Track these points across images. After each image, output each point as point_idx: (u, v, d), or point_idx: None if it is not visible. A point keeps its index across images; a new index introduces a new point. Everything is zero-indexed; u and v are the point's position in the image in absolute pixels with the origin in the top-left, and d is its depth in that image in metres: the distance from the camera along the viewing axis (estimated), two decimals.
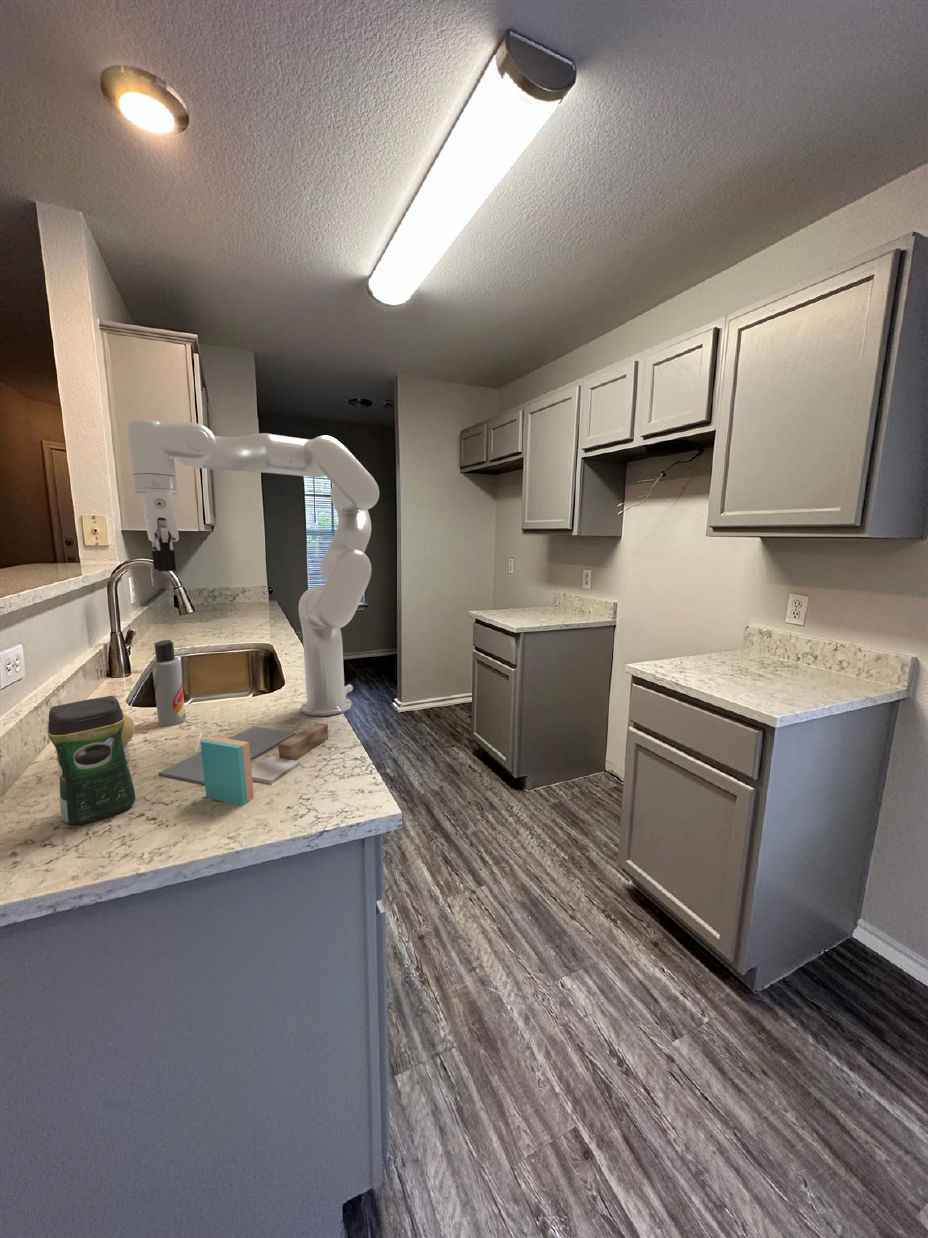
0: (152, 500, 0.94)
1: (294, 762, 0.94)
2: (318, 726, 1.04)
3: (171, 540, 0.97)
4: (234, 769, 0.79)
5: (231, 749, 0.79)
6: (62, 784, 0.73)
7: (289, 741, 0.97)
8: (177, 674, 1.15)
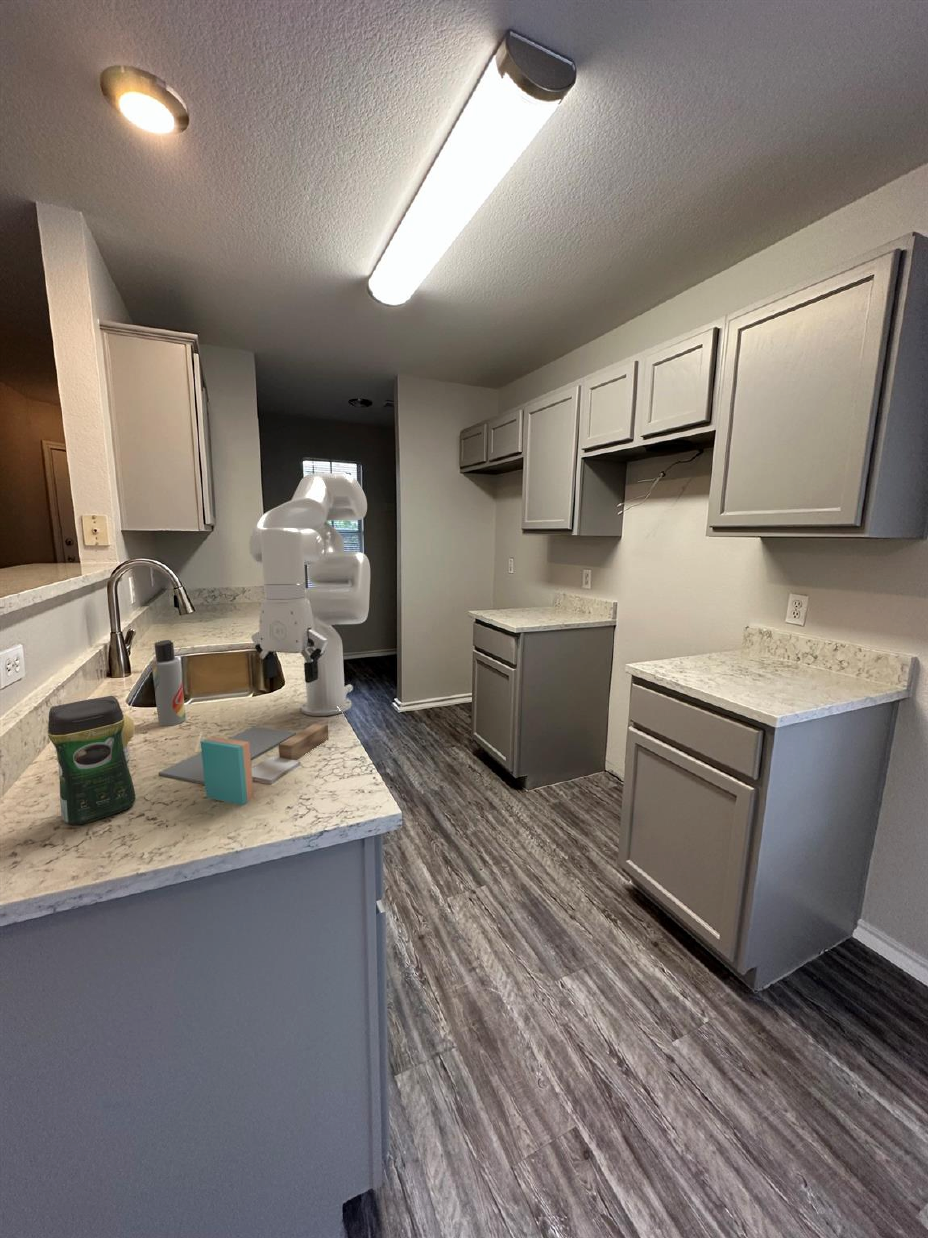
0: None
1: (294, 761, 0.94)
2: (318, 726, 1.04)
3: None
4: (234, 769, 0.79)
5: (231, 749, 0.79)
6: (62, 784, 0.73)
7: (289, 740, 0.97)
8: (177, 674, 1.15)
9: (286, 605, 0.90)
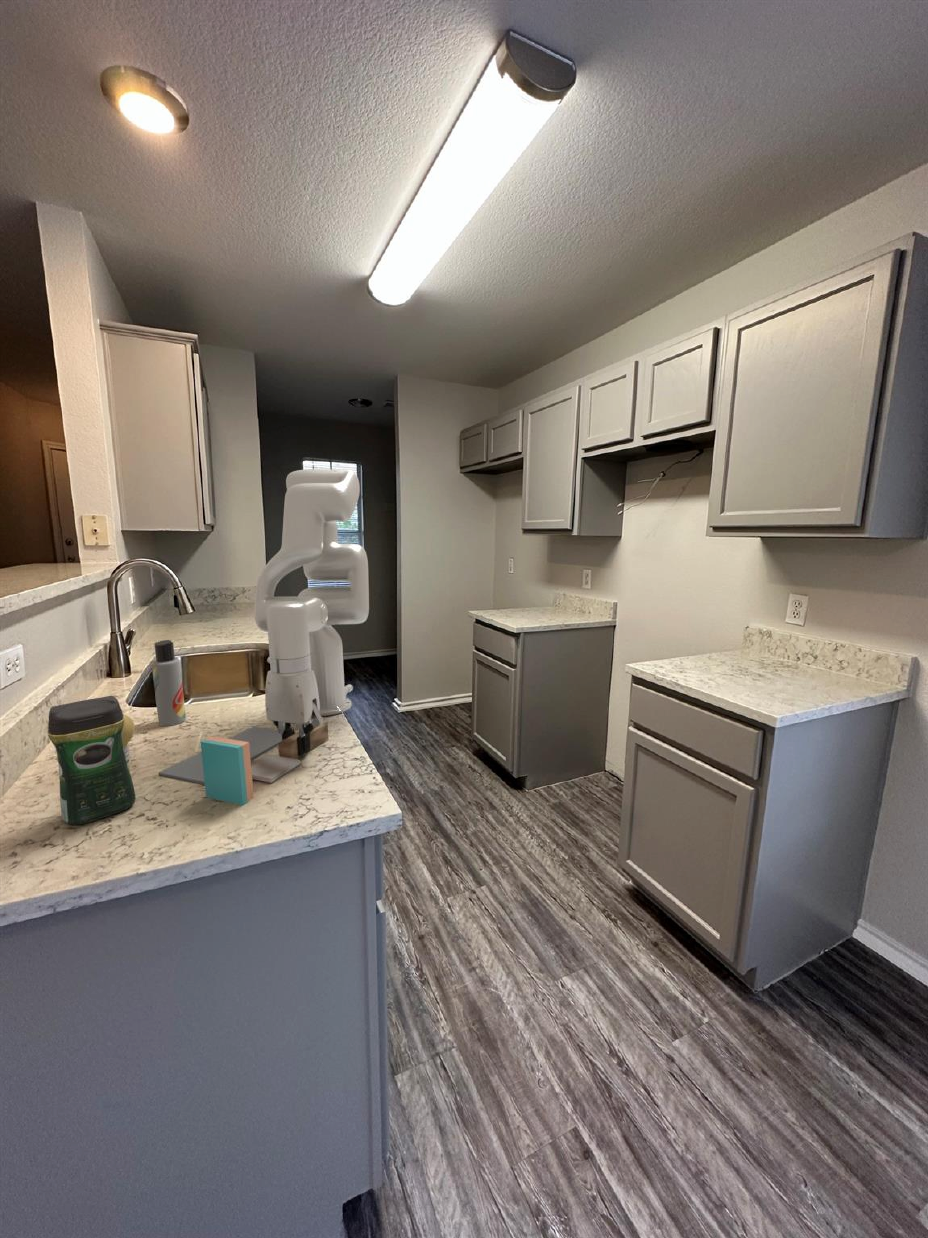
0: None
1: (294, 760, 0.94)
2: None
3: (278, 724, 0.97)
4: (234, 769, 0.79)
5: (231, 749, 0.79)
6: (62, 784, 0.73)
7: (289, 739, 0.97)
8: (177, 674, 1.15)
9: (291, 679, 0.93)
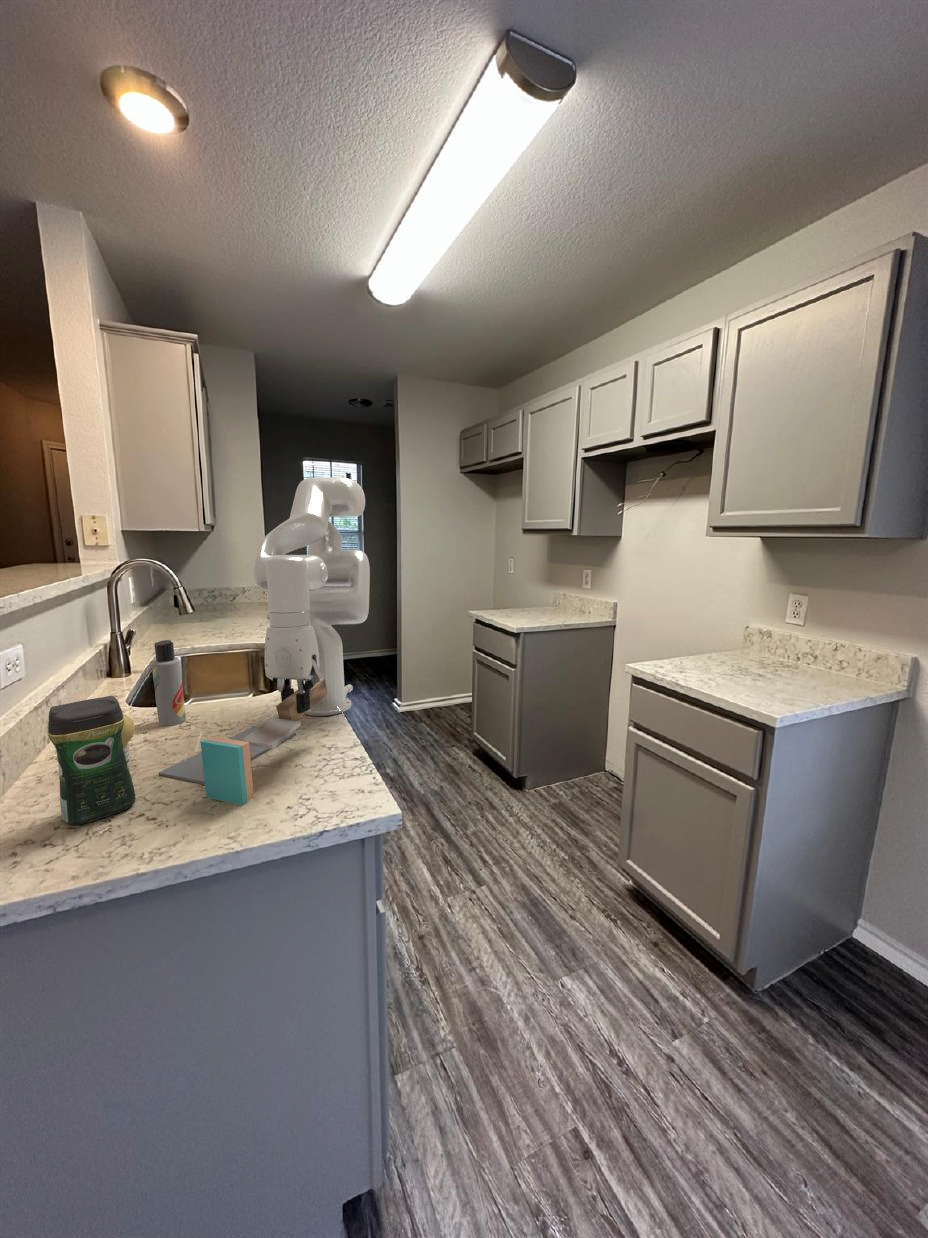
0: None
1: (294, 722, 0.93)
2: None
3: (277, 681, 0.96)
4: (234, 769, 0.79)
5: (231, 749, 0.79)
6: (62, 784, 0.73)
7: (286, 701, 0.95)
8: (177, 674, 1.15)
9: (291, 633, 0.92)
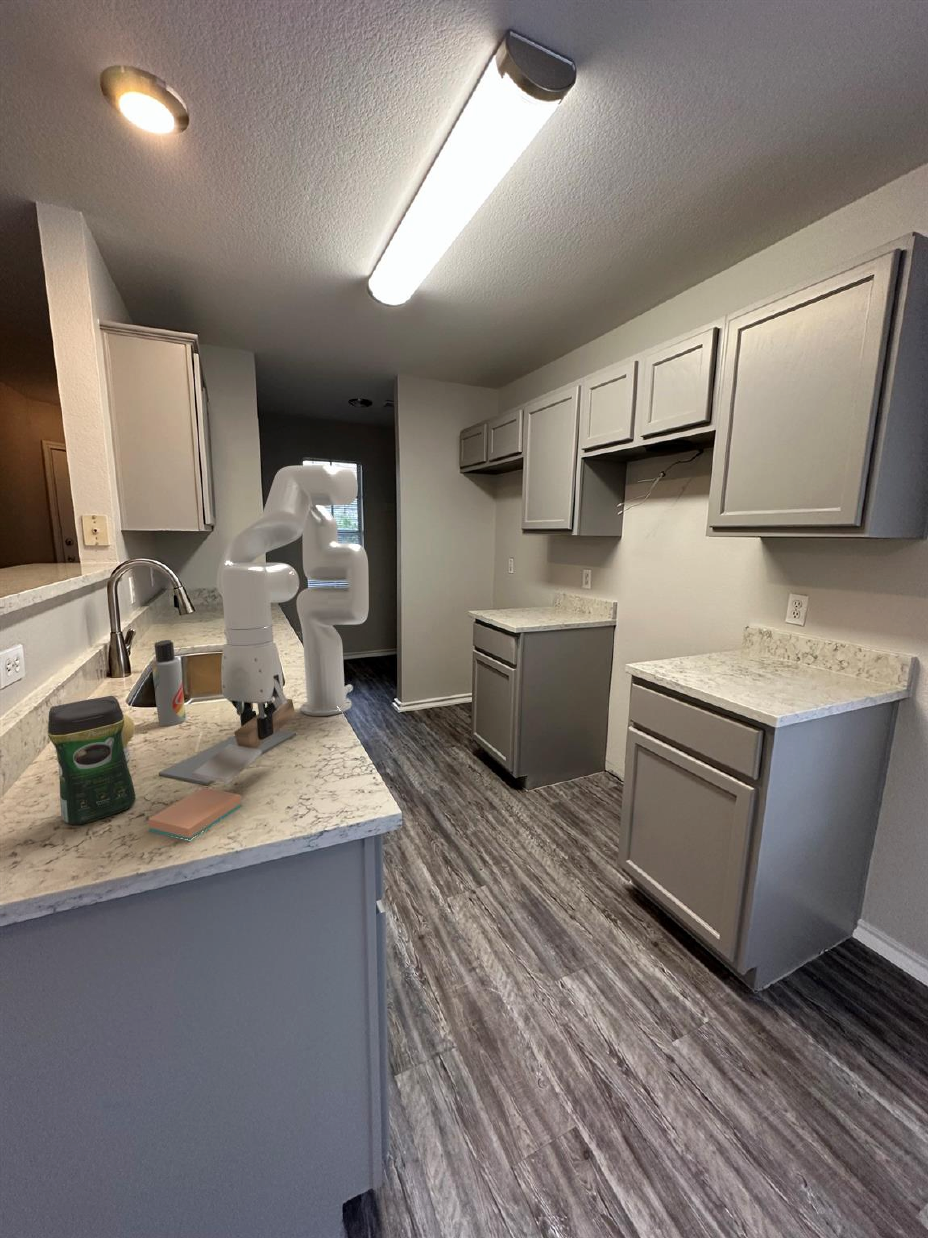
0: None
1: (254, 751, 0.83)
2: None
3: (236, 704, 0.87)
4: None
5: None
6: (62, 784, 0.73)
7: (246, 726, 0.86)
8: (177, 674, 1.15)
9: (249, 652, 0.82)
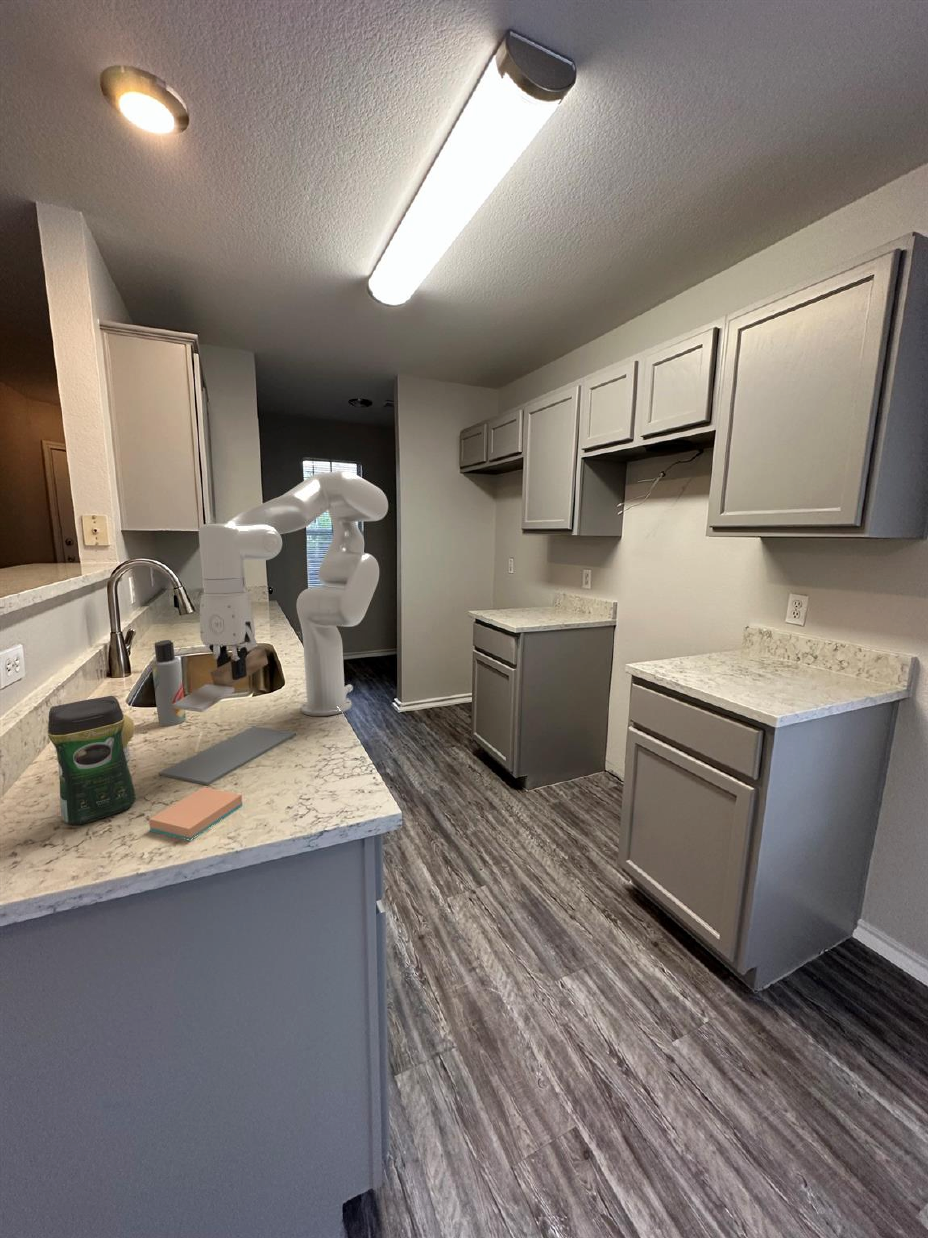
0: None
1: (227, 688, 0.94)
2: (254, 650, 1.04)
3: (213, 648, 0.97)
4: None
5: None
6: (62, 784, 0.73)
7: (221, 668, 0.96)
8: (177, 674, 1.15)
9: (224, 599, 0.93)
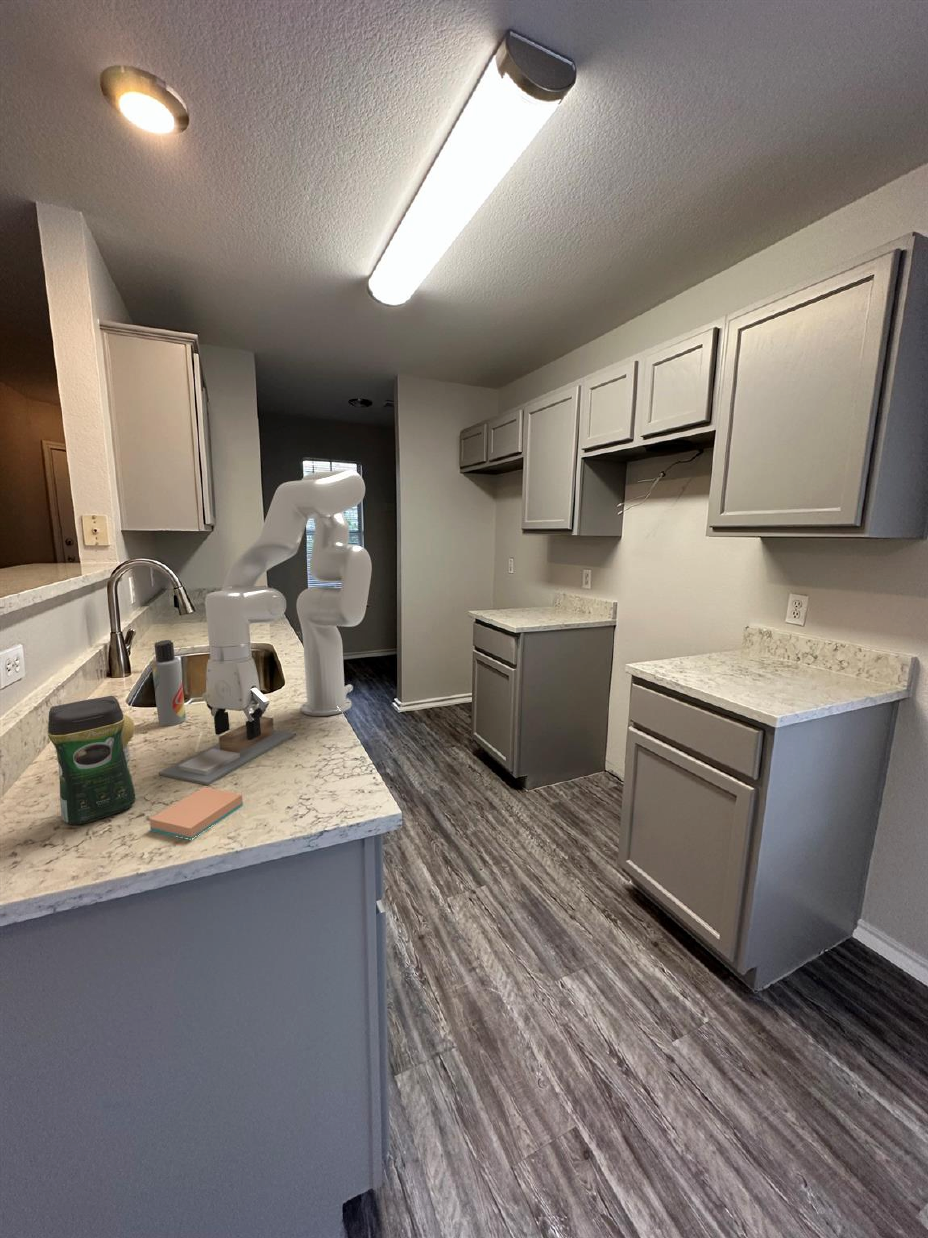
0: None
1: (233, 754, 0.96)
2: (263, 719, 1.07)
3: (213, 706, 1.00)
4: None
5: None
6: (62, 784, 0.73)
7: (230, 733, 0.99)
8: (177, 674, 1.15)
9: (230, 666, 0.95)
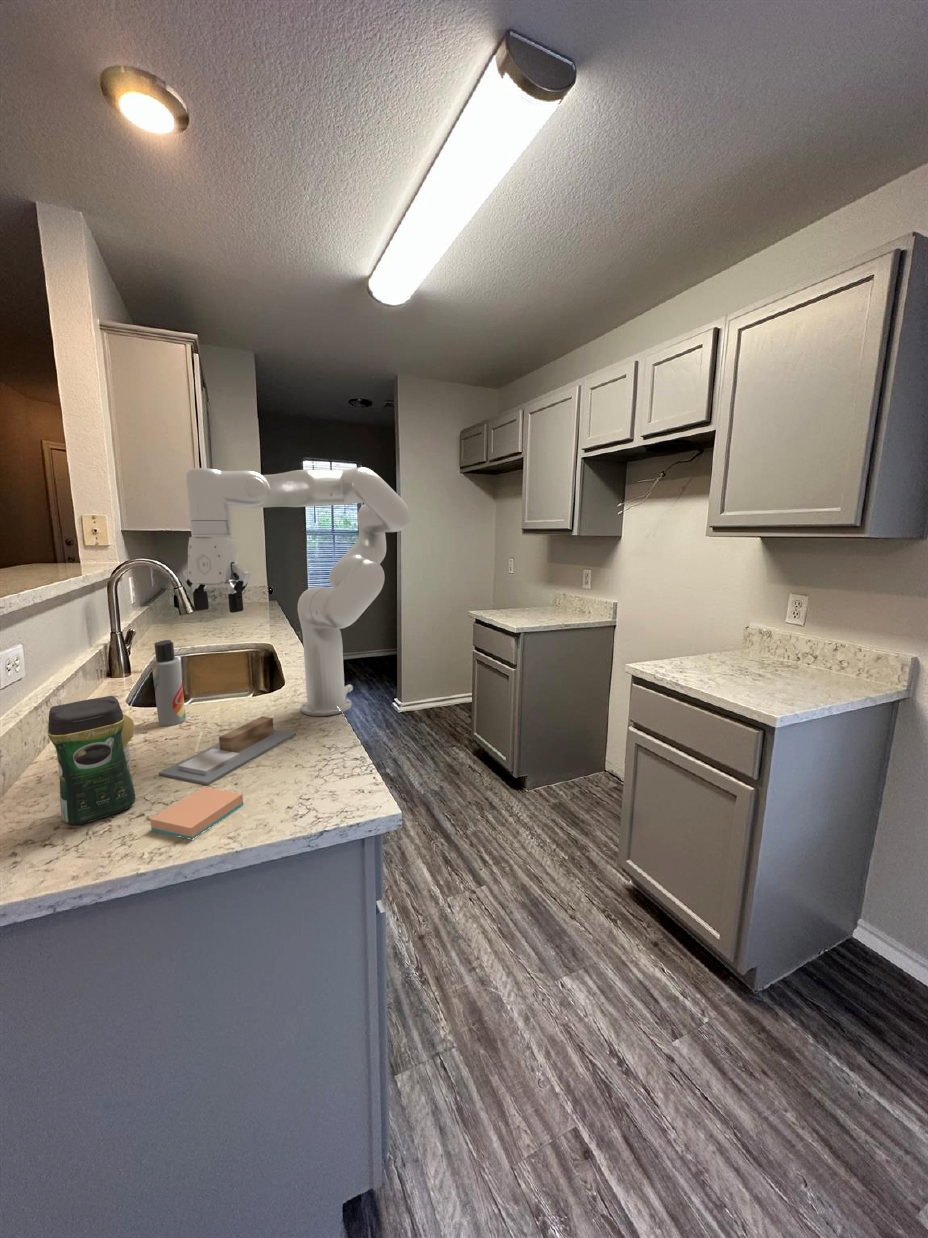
0: None
1: (233, 754, 0.96)
2: (263, 719, 1.07)
3: None
4: None
5: None
6: (62, 784, 0.73)
7: (230, 733, 0.99)
8: (177, 674, 1.15)
9: (210, 540, 0.99)
